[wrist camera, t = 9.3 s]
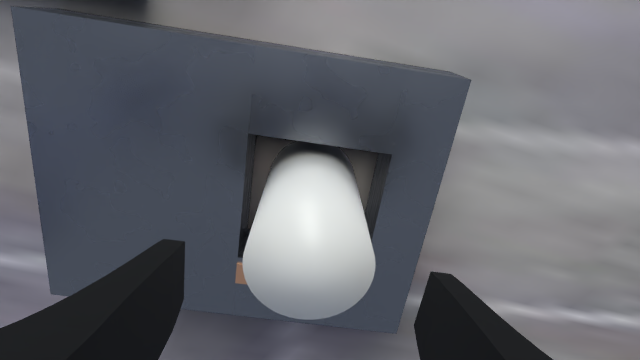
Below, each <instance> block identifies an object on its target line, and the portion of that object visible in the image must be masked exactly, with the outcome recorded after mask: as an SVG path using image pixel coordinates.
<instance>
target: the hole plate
mask: <svg viewBox="0 0 640 360" xmlns="http://www.w3.org/2000/svg"><path fill="white" fill-rule="evenodd" d="M11 11H12V18H13V26H14V33H15V40H16V47H17V54H18V62H19V69H20V76H21V83H22V90H23V97H24V105H25V112H26V119H27V126H28V133H29V141H30V148H31V155H32V162H33V169H34V177H35V184H36V191H37V198H38V205H39V213H40V220H41V227H42V234H43V241H44V249H45V256H46V263H47V270H48V277H49V285H50V292H51V294H54V295H62V296H71V295H73V294H74V293H76V292H78V291H80V290H81V289H83V288H85V287H87V286H88V285H90V284H92V283H94V282H95V281H97V280H99V279H101V278H102V277H104V276H106V275H108V274H109V273H111V272H112V271H114V270H115V269H117V268H119V267H120V266H122V265H123V264H125V263H127V262H128V261H130V260H131V259H133V258H134V257H136V256H137V255H139V254H140V253H142V252H144V251H145V250H147V249H148V248H150V247H151V246H153V245H154V244H156V243H157V242H159V241H161V240H162V239H170V240H178V241H185V272H184V300H183V303H182V306H181V309H185V310H194V311H202V312H211V313H220V314H229V315H237V316H246V317H255V318H264V319H272V320H281V321H290V322H299V323H307V324H316V325H325V326H334V327H342V328H351V329H360V330H369V331H377V332H386V333H395V334H396V333H397V329H398V326H399V323H400V319H401V316H402V312H403V309H404V306H405V302H406V299H407V296H408V292H409V289H410V285H411V282H412V279H413V275H414V272H415V268H416V265H417V262H418V258H419V255H420V252H421V248H422V245H423V241H424V238H425V235H426V231H427V228H428V224H429V221H430V218H431V214H432V211H433V208H434V204H435V201H436V197H437V194H438V191H439V187H440V184H441V180H442V177H443V174H444V170H445V167H446V164H447V160H448V157H449V153H450V150H451V147H452V143H453V140H454V136H455V133H456V130H457V126H458V123H459V120H460V116H461V113H462V109H463V106H464V103H465V99H466V96H467V92H468V89H469V86H470V82H471V80H470V79H467V78H465V77H462V76H460V75H457V74H454V73H452V72H448V71H442V70H436V69H430V68H424V67H417V66H411V65H405V64H399V63H392V62H386V61H380V60H374V59H368V58H361V57H355V56H349V55H343V54H336V53H330V52H324V51H318V50H311V49H305V48H299V47H293V46H287V45H280V44H274V43H268V42H262V41H255V40H249V39H243V38H237V37H231V36H224V35H218V34H212V33H206V32H199V31H193V30H187V29H181V28H175V27H168V26H162V25H156V24H150V23H143V22H137V21H131V20H125V19H119V18H112V17H106V16H100V15H94V14H87V13H81V12H75V11H69V10H63V9H54V8H34V7H14V6H11ZM256 135H261V136H268V137H275V138H282V139H289V140H296V141H303V142H310V143H317V144H323V145H330V146H337V147H344V148H351V149H358V150H365V151H372V152H379V153H378V157H377V162H376V166H375V171H374V175H373V180H372V184H371V189H370V193H369V198H368V203H367V207H366V212H365V219H366V223H367V227H368V231H369V235H370V239H371V243H372V247H373V251H374V255H375V273H374V278H373V280H372V283H371V285H370V287H369V289H368V291H367V292H366V293H365V295H364V296H363V297H362V298H361V299H360V300H359V301H358V302H357V303H356V304H355V305H353V306H352V307H351V308H349V309H347V310H346V311H344V312H342V313H340V314H337V315H334V316H331V317H328V318H323V319H315V320H304V319H296V318H291V317H287V316H284V315H281V314H279V313H277V312H275V311H273V310H271V309H269V308H268V307H266V306H265V305H264V304H262V303H261V302H260V301H259V300H258V299H257V298H256V297H255V295H254V294H253V293H252V292H251V290H250V288H249V287H248V285H247V282H246V280H245V277H244V273H243V265H242V263H243V254H244V250H245V246H246V243H247V240H248V237H249V234H250V231H251V229H247V227H248V216H249V205H250V195H251V184H252V173H253V162H254V151H255V141H256Z"/></svg>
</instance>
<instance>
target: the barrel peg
mask: <svg viewBox="0 0 640 360" xmlns="http://www.w3.org/2000/svg"><path fill="white" fill-rule="evenodd" d="M242 265H243V273H244V277H245V280H246V282H247V285H248V287H249V288H250V290H251V292H252V293H253V294H254V295H255V297H256V298H257V299H258V300H259V301H260V302H261V303H262V304H264V305H265V306H266V307H268V308H269V309H271V310H273V311H275V312H277V313H279V314H281V315H284V316H287V317H291V318H296V319H304V320H315V319H323V318H328V317H331V316H334V315H337V314H340V313H342V312H344V311H346V310H347V309H349V308H351V307H352V306H353V305H355V304H356V303H357V302H358V301H359V300H360V299H361V298H362V297H363V296H364V295H365V293H366V292H367V291H368V289H369V287H370V285H371V283H372V280H373V278H374V273H375V255H374V251H373V247H372V243H371V239H370V235H369V231H368V227H367V223H366V219H365V215H364V211H363V207H362V202H361V198H360V194H359V190H358V186H357V182H356V178H355V174H354V170H353V167H352V164H351V162H350V160H349V158H348V157H347V156H346V154H345V153H344V152H343V151H342V150H341V149H340V148H338V147H337V146H330V145H323V144H317V143H310V142H303V141H296V142H294V143H292V144H290V145H288V146H287V147H285V148H284V149H283V150H282V151H281V152H280V153H279V154H278V155H277V156H276V158H275V159H274V161H273V163H272V166H271V169H270V172H269V175H268V178H267V181H266V184H265V187H264V190H263V194H262V197H261V200H260V203H259V206H258V209H257V212H256V215H255V218H254V222H253V225H252V228H251V231H250V234H249V237H248V240H247V243H246V246H245V250H244V254H243V263H242Z"/></svg>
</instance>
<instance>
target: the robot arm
mask: <svg viewBox="0 0 640 360" xmlns="http://www.w3.org/2000/svg"><path fill="white" fill-rule="evenodd" d="M184 272H185V241H178V240H170V239H162V240H161V241H159V242H157V243H156V244H154V245H153V246H151V247H150V248H148V249H147V250H145V251H144V252H142V253H140V254H139V255H137V256H136V257H134V258H133V259H131V260H130V261H128V262H127V263H125V264H123V265H122V266H120V267H119V268H117V269H115V270H114V271H112V272H111V273H109V274H108V275H106V276H104V277H102V278H101V279H99V280H97V281H95V282H94V283H92V284H90V285H88V286H87V287H85V288H83V289H81V290H80V291H78V292H76V293H74V294H73V295H71V296H69V297H67V298H65V299H63V300H61V301H59V302H57V303H55V304H53V305H51V306H49V307H47V308H45V309H43V310H41V311H39V312H37V313H35V314H33V315H30V316H28V317H26V318H24V319H22V320H19V321H17V322H15V323H12V324H10V325H8V326H5V327H3V328H0V360H158V359H159V357H160V355H161V353H162V351H163V349H164V347H165V345H166V343H167V341H168V339H169V337H170V335H171V333H172V331H173V328H174V325H175V323H176V320H177V317H178V314H179V312H180V309H181V306H182V303H183V300H184ZM414 328H415V334H416V340H417V345H418V350H419V355H420V360H553V359H552V358H550V357H549V356H548V355H546V354H545V353H544V352H542V351H541V350H540V349H538V348H537V347H536V346H535V345H533V344H532V343H531V342H530V341H528V340H527V339H526V338H525V337H523V336H522V335H521V334H520V333H519V332H517V331H516V330H515V329H514V328H513V327H511V326H510V325H509V324H508V323H507V322H506V321H504V320H503V319H502V318H501V317H500V316H499V315H497V314H496V313H495V312H494V311H493V310H492V309H491V308H490V307H488V306H487V305H486V304H485V303H484V302H483V301H482V300H481V299H479V298H478V297H477V296H476V295H475V294H474V293H473V292H472V291H471V290H469V289H468V288H467V287H466V286H465V285H464V284H463V283H461V282H460V281H459V280H458V279H457V278H455V277H454V276H453V275H451V274H446V273H438V272H431V273H430V276H429V279H428V282H427V285H426V288H425V292H424V295H423V298H422V301H421V304H420V308H419V311H418V314H417V317H416V320H415V324H414Z"/></svg>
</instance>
